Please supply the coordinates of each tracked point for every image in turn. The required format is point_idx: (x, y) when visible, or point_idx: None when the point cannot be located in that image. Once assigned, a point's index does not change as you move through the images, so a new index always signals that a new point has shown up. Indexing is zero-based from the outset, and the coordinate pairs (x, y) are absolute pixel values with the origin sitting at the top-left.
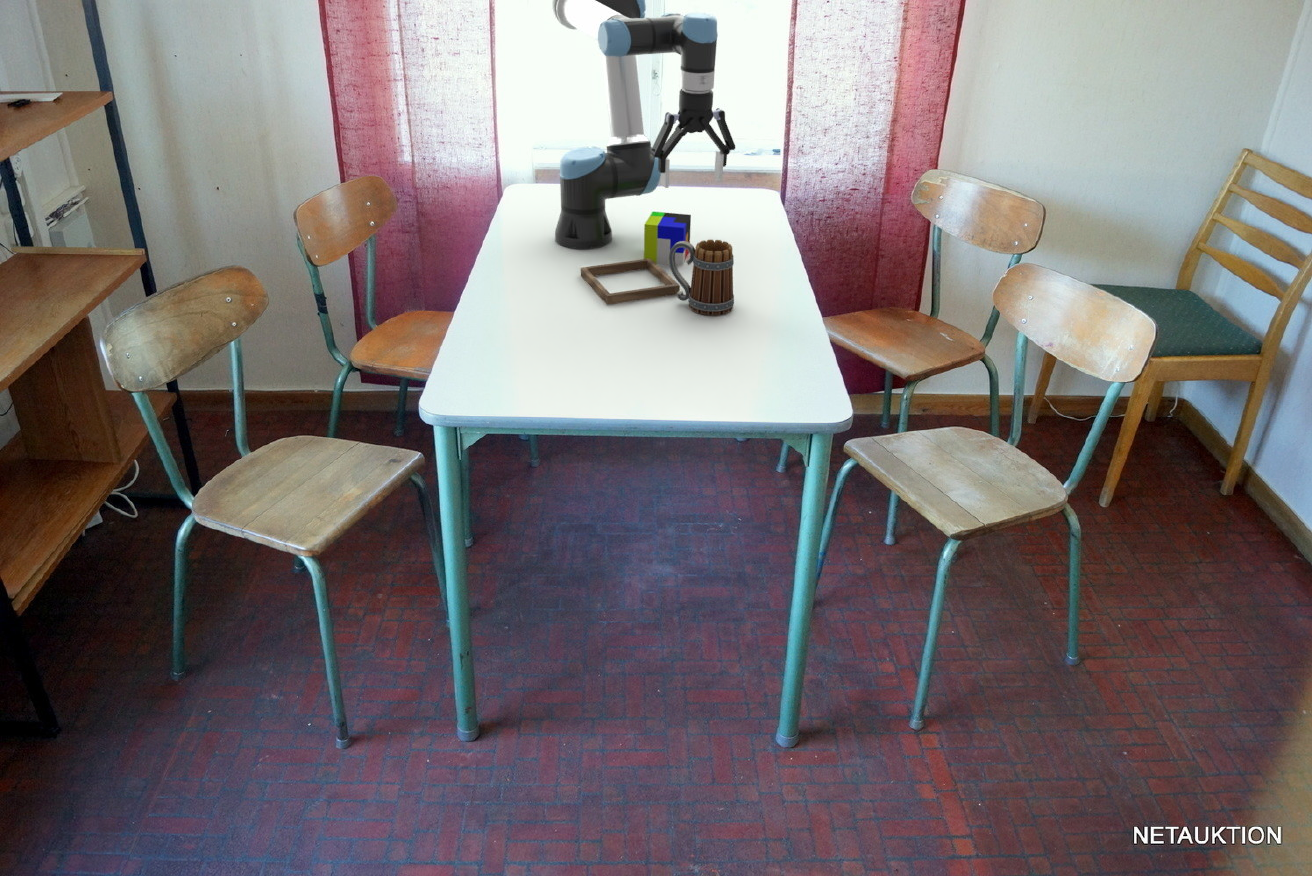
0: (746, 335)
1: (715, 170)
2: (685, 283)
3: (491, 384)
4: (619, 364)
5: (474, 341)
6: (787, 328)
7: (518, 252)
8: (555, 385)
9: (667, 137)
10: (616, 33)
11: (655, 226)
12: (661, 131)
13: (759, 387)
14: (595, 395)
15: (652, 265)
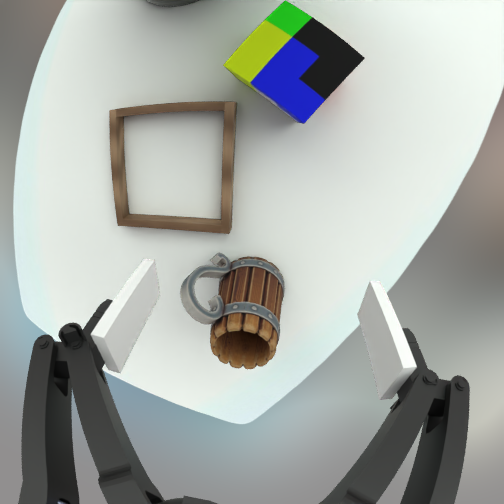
0: None
1: (377, 309)
2: (217, 276)
3: (43, 310)
4: None
5: (23, 246)
6: (302, 351)
7: (81, 13)
8: None
9: (71, 449)
10: None
11: (246, 80)
12: (31, 443)
13: (215, 396)
14: None
15: (223, 135)
